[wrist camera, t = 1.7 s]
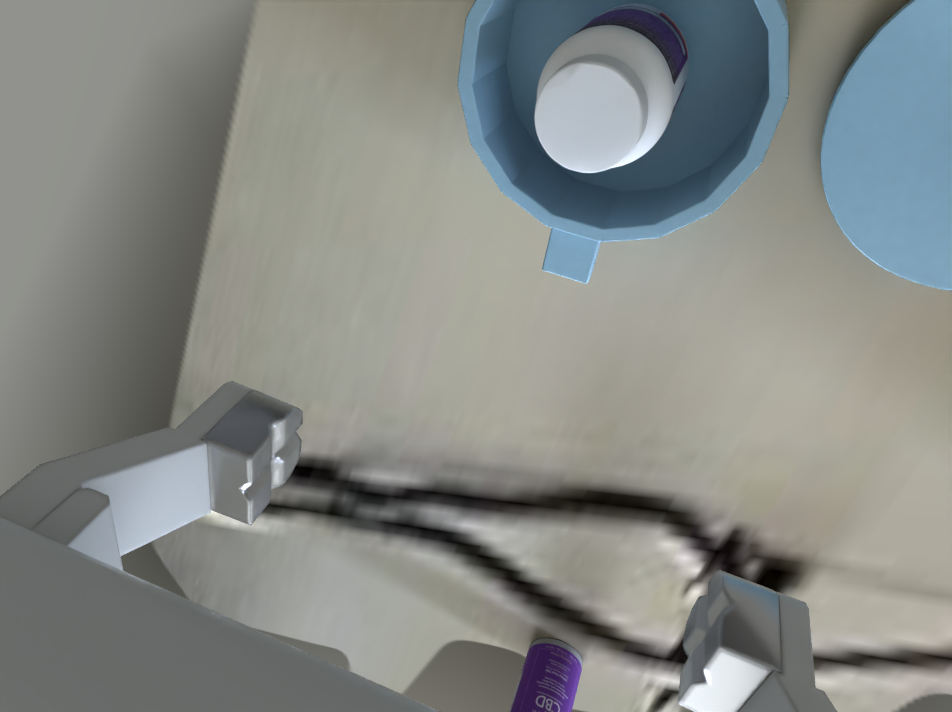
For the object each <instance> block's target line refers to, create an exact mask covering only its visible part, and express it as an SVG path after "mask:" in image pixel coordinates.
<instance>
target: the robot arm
mask: <svg viewBox="0 0 952 712" xmlns="http://www.w3.org/2000/svg"><path fill="white" fill-rule="evenodd" d="M302 421H303V411H302V410H300V409H299V408H297V407H295V406H292V405H290V404H288V403H285V402H283V401H280V400H278V399H276V398H273V397H271V396H268V395H266V394H264V393H261V392H259V391H256V390H253V389H250V388H248V387H246V386H243V385H241V384H238V383H236V382H234V381H231V382H228V383H225V384H224V385H223V386H221V387H220V388H219V389H218V390H217V391H216V392H215V393H214V394H213V395H212V396H211V397H210V398H208V399H207V400H206V401H205V402H204V403H203V404H202V405H201V406H200V407H199V408H198V409H197V410H195V411H194V412H193V413H192V414H191V415H190V416H189V417H188V418H187V419H186V420H185V421H184V422H183V423H181V424H180V425H179V426H178V427H177V428H176V429H172V428H170V427H167V428H164V429H160V430H157V431H153V432H150V433H146V434H143V435H140V436H136V437H132V438H129V439H126V440H122V441H119V442H115V443H112V444H108V445H105V446H101V447H98V448H95V449H91V450H88V451H84V452H81V453H78V454H74V455H71V456H67V457H64V458H60V459H57V460H53V461H50V462H46V463H43V464H40V465H39V466H37V467H36V468H35V469H34V470H32V471H31V472H30V473H29V474H27V475H26V476H25V477H24V478H22V479H21V480H20V481H19V482H17V483H16V484H15V485H14V486H12V487H11V488H10V489H9V490H7V491H6V492H5V493H4V494H3V495H1V496H0V712H440V711H438V710H436V709H434V708H431V707H429V706H427V705H425V704H422V703H420V702H418V701H415V700H413V699H411V698H409V697H407V696H404V695H402V694H400V693H398V692H395V691H393V690H391V689H388V688H386V687H384V686H382V685H379V684H377V683H375V682H373V681H370V680H368V679H366V678H364V677H361V676H359V675H357V674H355V673H352V672H350V671H348V670H345V669H343V668H341V667H339V666H337V665H334V664H332V663H330V662H328V661H325V660H323V659H321V658H319V657H316V656H314V655H312V654H309V653H307V652H305V651H303V650H300V649H298V648H296V647H294V646H291V645H289V644H287V643H285V642H282V641H280V640H278V639H275V638H273V637H271V636H269V635H267V634H264V633H262V632H260V631H258V630H255V629H253V628H251V627H249V626H246V625H244V624H242V623H240V622H237V621H235V620H233V619H231V618H228V617H226V616H224V615H221V614H219V613H217V612H215V611H212V610H210V609H208V608H206V607H203V606H201V605H199V604H197V603H194V602H192V601H190V600H188V599H185V598H183V597H181V596H178V595H176V594H174V593H172V592H170V591H167V590H165V589H163V588H160V587H158V586H156V585H154V584H151V583H149V582H147V581H145V580H142V579H140V578H138V577H136V576H133V575H131V574H128V573H127V572H124V571H123V568H122V562H121V558H120V556H122V555H124V554H126V553H128V552H130V551H132V550H134V549H136V548H138V547H140V546H142V545H144V544H147V543H149V542H151V541H153V540H155V539H157V538H159V537H161V536H163V535H165V534H167V533H169V532H171V531H173V530H175V529H177V528H179V527H182V526H184V525H186V524H188V523H190V522H192V521H194V520H196V519H198V518H200V517H202V516H204V515H206V514H208V513H210V512H211V510H213V511H215V512H218V513H220V514H223V515H226V516H228V517H231V518H233V519H236V520H239V521H241V522H244V523H246V524H249V525H252V523H253V522H254V521H255V520H256V518H257V517H258V516H259V515H260V513H261V512H262V511H263V510H264V508H265V507H266V506H267V505H268V503H269V502H270V501H271V489H273V488H276V487H279V486H281V485H283V484H284V483H285V482H286V481H287V479H288V478H289V477H290V475H291V474H292V472H293V470H294V468H295V466H296V464H297V462H298V459H299V455H300V451H301V441H302V440H301V439H300V437H299V435H298V434H297V432H296V431H297V430H298V429H299V427H300V426H301V425H302ZM683 648H684V650H685V652H686V654H687V656H688V660H687V661H686V663H685V664H684V666H683V667H682V669H681V674H680V686H679V698H678V704H679V705H681V706H683V707H686V708H688V709H690V710H692V711H695V712H837V711H836V709H835V708H834V706H833V704H832V703H831V701H830V700H829V698H828V697H827V695H826V693H825V692H824V691H822V690H819V689H817V688H816V687H815V676H814V664H813V653H812V641H811V629H810V618H809V608H808V606H807V605H806V603H805V602H803V601H800V600H797V599H795V598H792V597H789V596H787V595H784V594H781V593H779V592H774V591H773V590H771V589H769V588H766V587H763V586H761V585H758V584H755V583H753V582H750V581H747V580H745V579H742V578H739V577H736V576H734V575H731V574H728V573H726V572H723V571H720V570H719V571H717V572H716V573H715V574H714V575H713V576H712V578H711V579H710V581H709V584H708V594H707V595H704V596H700V597H699V598H698V599H697V601H696V603H695V604H694V606H693V608H692V610H691V613H690V615H689V618H688V621H687V624H686V629H685V634H684V642H683Z"/></svg>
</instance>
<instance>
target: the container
mask: <svg viewBox="0 0 952 712" xmlns="http://www.w3.org/2000/svg"><path fill="white" fill-rule="evenodd" d="M582 665H583V662H582V659H581V657H580V655H579V654H578V652H577V651H576V650H575V649H573V648H572V647H571V646H569V645H568V644H566V643H564V642H561V641H559V640H555V639H550V638H542V639H538V640H535V641H534V642H532V644H531V645H530V648H529V651H528V653H527V657H526V660H525V663H524V666H523V669H522V672H521V675H520V678H519V681H518V684H517V688H516V691H515V694H514V697H513V700H512V703H511V706H510V709H509V712H571V711H572V707H573V703H574V699H575V695H576V691H577V687H578V683H579V678H580V674H581V670H582Z"/></svg>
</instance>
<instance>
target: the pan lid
mask: <svg viewBox="0 0 952 712" xmlns="http://www.w3.org/2000/svg"><path fill="white" fill-rule="evenodd" d="M820 157H821V175H822V181H823V186H824V190H825V195H826V199H827V201H828V204H829V206H830V209H831V212H832V214H833V216H834V218H835V220H836V221H837V223H838V225H839V226H840V228H841V230H842V231H843V233H844V234H845V235H846V236H847V238H848V239H849V240H850V241H851V242H852V244H853V245H854V246H855V247H856V248H857V249H858V250H860V251H861V252H862V253H863V254H864V255H865V256H866V257H867V258H869V259H870V260H872V261H873V262H875V263H876V264H877V265H879V266H880V267H882V268H883V269H885V270H887V271H889V272H891V273H893V274H895V275H897V276H899V277H901V278H904V279H907V280H910V281H913V282H915V283H918V284H921V285H925V286H930V287H934V288H939V289H943V290H951V291H952V0H911V1H909V2H908V3H907V4H906V5H904V6H903V7H902V8H900V9H899V10H898V11H897V12H896V13H895V14H894V15H893V16H892V17H891V18H890V19H889V20H888V21H887V22H886V23H885V24H884V25H883V26H881V27H880V28H879V29H878V31H877V32H876V33H875V34H874V35H873V37H872V38H871V39H870V40H869V41H868V42H867V44H866V45H865V46H864V47H863V48H862V49H861V51H860V52H859V54H858V55H857V57H856V58H855V60H854V61H853V63H852V64H851V66H850V67H849V69H848V70H847V72H846V74H845V75H844V77H843V79H842V81H841V83H840V85H839V87H838V89H837V91H836V93H835V95H834V98H833V101H832V103H831V106H830V109H829V111H828V114H827V118H826V122H825V126H824V131H823V135H822V145H821V156H820Z"/></svg>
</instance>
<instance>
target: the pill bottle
mask: <svg viewBox="0 0 952 712" xmlns="http://www.w3.org/2000/svg"><path fill="white" fill-rule="evenodd" d="M688 70H689V54H688V48H687V44H686V41H685V38H684V35H683V33H682V31H681V30H680V28H679V27H678V25H677V24H676V23H675V22H674V20H673V19H672V18H671V17H670V16H668V15H667V14H666V13H664V12H663V11H661V10H659V9H657V8H655V7H652V6H649V5H646V4H637V3H630V4H623V5H619V6H616V7H613V8H611V9H609V10H607V11H605V12H603V13H601V14H599V15H598V16H597V17H595V18H594V19H593V20H592V21H590V22H589V23H588V24H587V25H585V26H584V27H583V28H582V29H580V30H579V31H578V32H576V33H575V34H574V35H572V36H571V37H569V38H568V39H567V40H565V41H564V42H563V43H562V44H561V45H560V46H558V48H557V49H556V50H555V51H554V53H553V54H552V55H551V57H550V58H549V60H548V61H547V63H546V65H545V67H544V69H543V71H542V73H541V76H540V79H539V83H538V89H537V102H536V106H535V116H534V118H535V127H536V132H537V135H538V138H539V141H540V143H541V144H542V146H543V148H544V149H545V151H546V152H547V153H548V155H549V156H550V157H551V158H552V159H553V160H554V161H556V162H557V163H559V164H560V165H562V166H563V167H565V168H567V169H570V170H573V171H577V172H582V173H595V172H601V171H604V170H608V169H610V168H615V167H619V166H623V165H626V164H628V163H631V162H633V161H635V160H636V159H638V158H640V157H641V156H643V155H644V154H645V153H647V152H648V151H649V150H650V149H651V148H652V147H653V146H654V145H655V144H656V142H657V141H658V140H659V138H660V137H661V136H662V134H663V132H664V131H665V129H666V127H667V125H668V123H669V121H670V119H671V116H672V114H673V112H674V109H675V107H676V105H677V103H678V101H679V99H680V96H681V94H682V92H683V89H684V87H685V83H686V80H687V75H688Z"/></svg>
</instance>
